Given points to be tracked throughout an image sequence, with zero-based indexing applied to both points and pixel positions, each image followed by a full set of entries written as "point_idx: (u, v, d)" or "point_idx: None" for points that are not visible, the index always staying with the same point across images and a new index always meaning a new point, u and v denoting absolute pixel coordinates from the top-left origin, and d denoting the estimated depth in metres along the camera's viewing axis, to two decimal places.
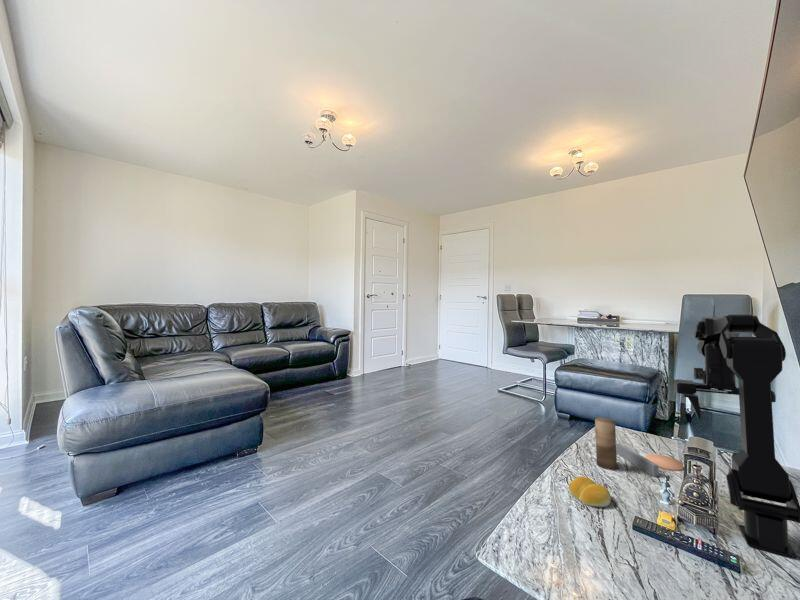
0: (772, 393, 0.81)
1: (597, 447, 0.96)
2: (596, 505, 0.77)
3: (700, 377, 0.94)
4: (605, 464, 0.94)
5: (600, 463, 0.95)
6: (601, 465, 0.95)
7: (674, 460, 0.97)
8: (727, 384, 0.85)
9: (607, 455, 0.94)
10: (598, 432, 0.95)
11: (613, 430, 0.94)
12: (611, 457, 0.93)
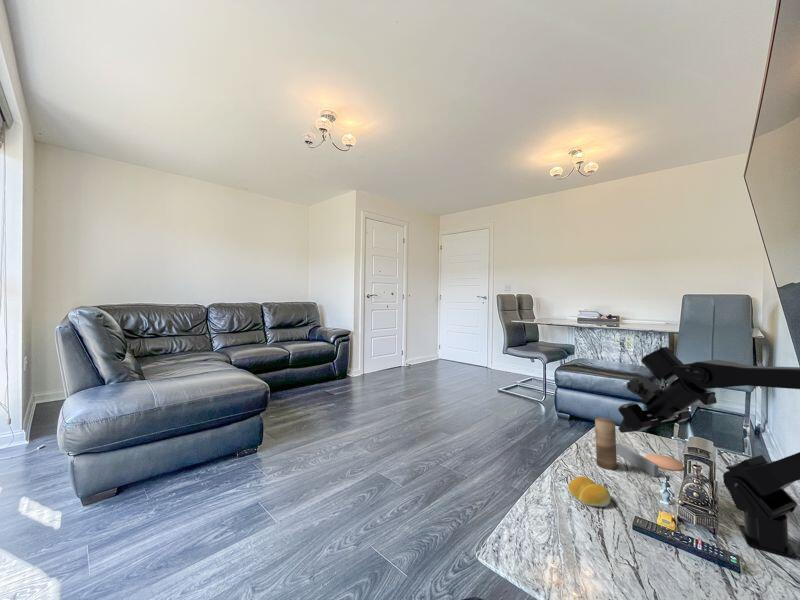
0: (689, 415, 0.83)
1: (597, 447, 0.96)
2: (596, 505, 0.77)
3: (639, 393, 0.83)
4: (605, 464, 0.94)
5: (600, 463, 0.95)
6: (601, 465, 0.95)
7: (674, 460, 0.97)
8: (673, 417, 0.80)
9: (607, 455, 0.94)
10: (598, 432, 0.95)
11: (613, 430, 0.94)
12: (611, 457, 0.93)
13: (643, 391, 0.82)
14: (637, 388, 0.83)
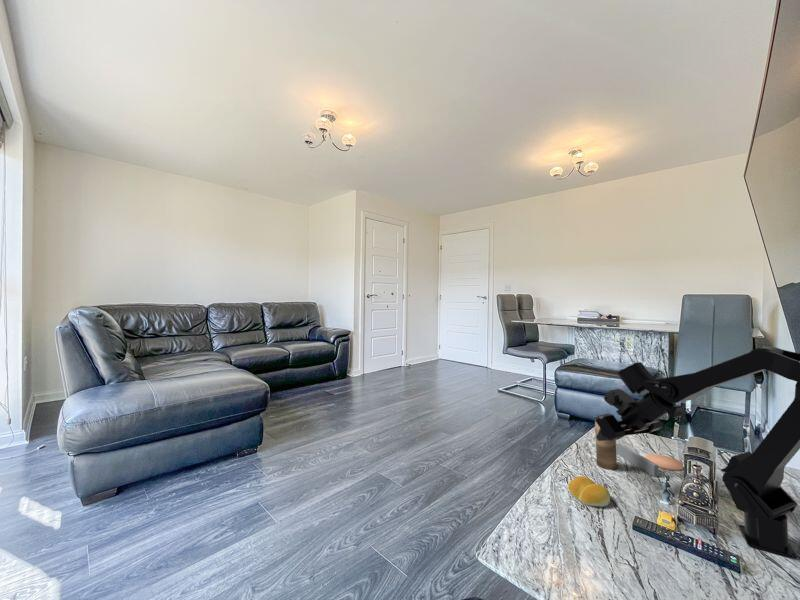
0: (661, 425, 0.90)
1: (597, 447, 0.96)
2: (596, 505, 0.77)
3: (614, 405, 0.89)
4: (605, 464, 0.94)
5: (600, 463, 0.95)
6: (601, 465, 0.95)
7: (674, 460, 0.97)
8: (645, 427, 0.86)
9: (607, 455, 0.94)
10: None
11: None
12: (611, 457, 0.93)
13: (618, 403, 0.89)
14: (613, 400, 0.89)
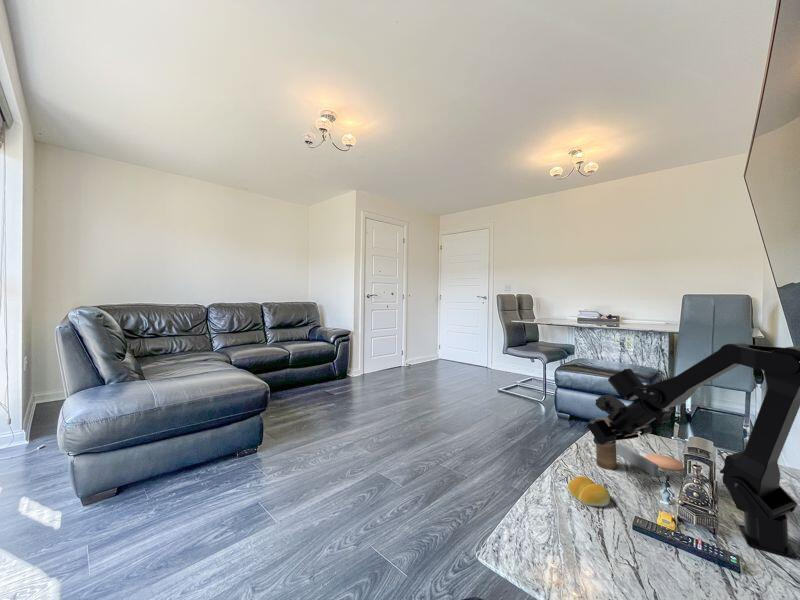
0: (651, 430, 0.92)
1: (597, 447, 0.96)
2: (595, 505, 0.77)
3: (605, 410, 0.92)
4: (605, 464, 0.94)
5: (600, 463, 0.95)
6: (600, 465, 0.95)
7: (674, 460, 0.97)
8: (635, 432, 0.89)
9: (607, 455, 0.94)
10: None
11: None
12: (611, 457, 0.93)
13: (609, 408, 0.91)
14: (604, 405, 0.91)
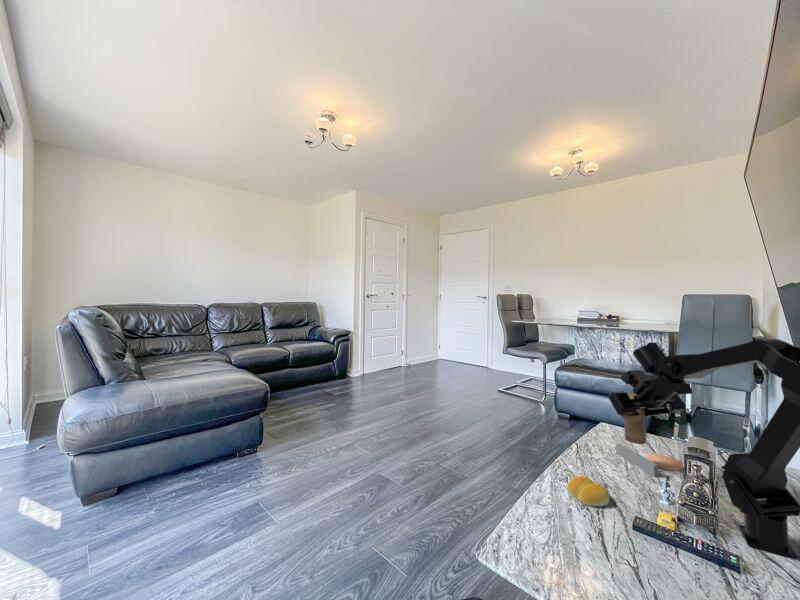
0: (684, 407, 0.90)
1: (625, 421, 0.97)
2: (595, 504, 0.77)
3: (630, 384, 0.93)
4: (632, 437, 0.95)
5: (627, 437, 0.96)
6: (627, 439, 0.96)
7: (674, 460, 0.97)
8: (660, 406, 0.88)
9: (633, 429, 0.94)
10: None
11: None
12: (638, 431, 0.94)
13: (633, 382, 0.92)
14: (628, 379, 0.93)
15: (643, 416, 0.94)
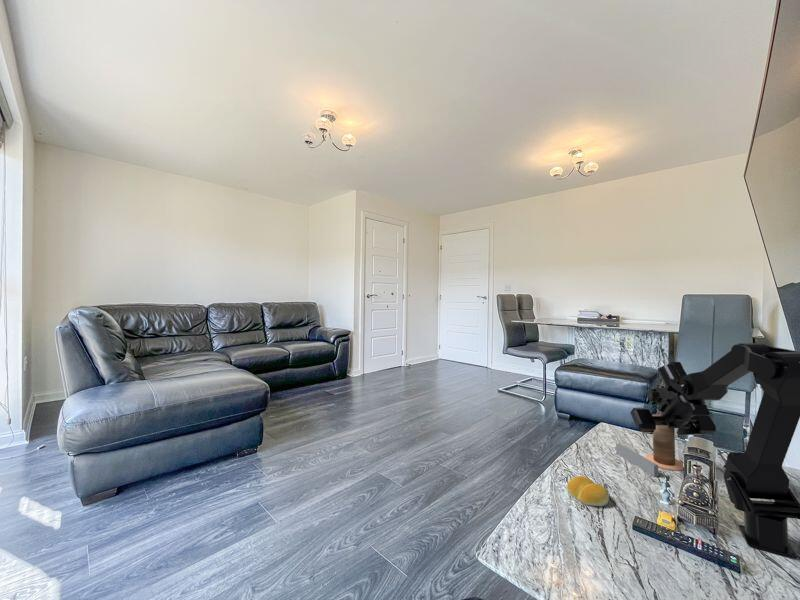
0: (715, 429, 0.88)
1: (653, 441, 0.98)
2: (594, 504, 0.77)
3: (655, 401, 0.94)
4: (658, 458, 0.95)
5: (654, 457, 0.97)
6: (655, 459, 0.96)
7: None
8: (684, 425, 0.88)
9: (660, 450, 0.95)
10: None
11: None
12: (665, 452, 0.94)
13: (657, 399, 0.93)
14: (651, 396, 0.94)
15: (671, 438, 0.94)
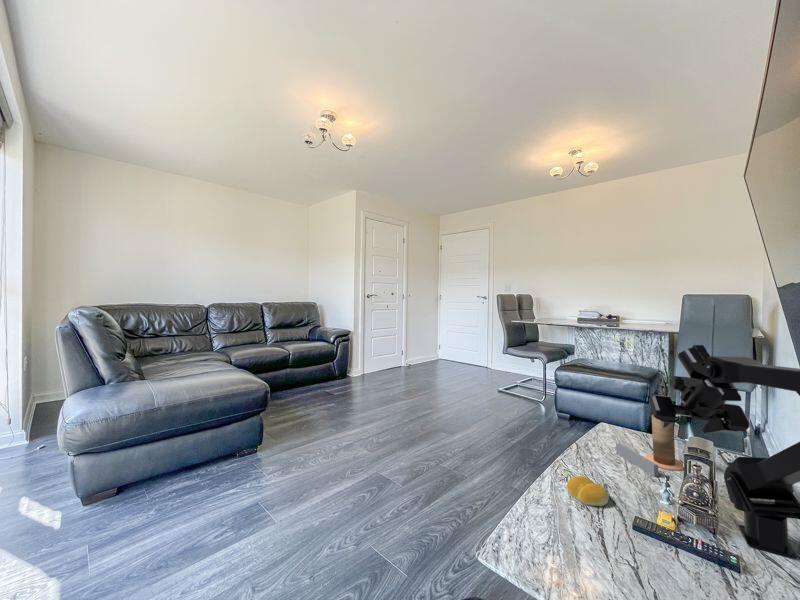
0: (748, 425, 0.77)
1: None
2: (594, 504, 0.77)
3: (678, 389, 0.85)
4: (658, 458, 0.95)
5: (654, 457, 0.97)
6: (655, 459, 0.96)
7: None
8: (709, 416, 0.79)
9: (660, 450, 0.95)
10: (652, 426, 0.97)
11: (667, 426, 0.94)
12: (665, 452, 0.94)
13: (681, 387, 0.84)
14: (674, 383, 0.85)
15: (671, 438, 0.94)
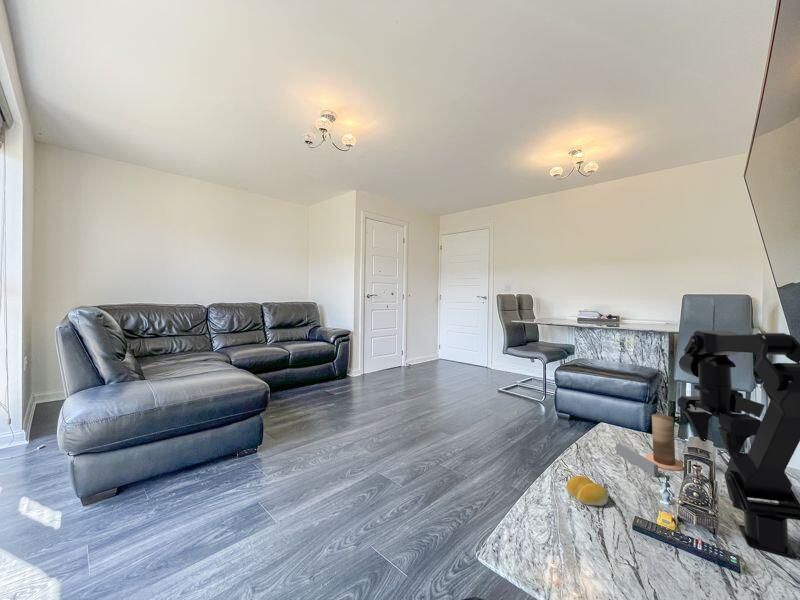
0: (732, 421, 0.70)
1: (653, 441, 0.98)
2: (594, 504, 0.77)
3: None
4: (658, 458, 0.95)
5: (654, 457, 0.97)
6: (655, 459, 0.96)
7: None
8: (704, 403, 0.78)
9: (660, 450, 0.95)
10: (652, 426, 0.97)
11: (667, 426, 0.94)
12: (665, 452, 0.94)
13: None
14: None
15: (671, 438, 0.94)
